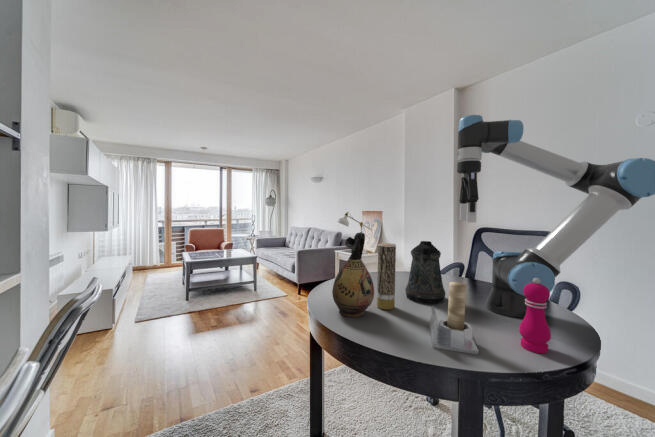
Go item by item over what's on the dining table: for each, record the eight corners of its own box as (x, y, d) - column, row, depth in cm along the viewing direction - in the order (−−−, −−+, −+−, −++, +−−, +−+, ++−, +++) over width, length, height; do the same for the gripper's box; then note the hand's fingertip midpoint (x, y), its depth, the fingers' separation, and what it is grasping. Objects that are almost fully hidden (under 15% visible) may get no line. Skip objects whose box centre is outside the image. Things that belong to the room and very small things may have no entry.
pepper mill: (512, 342, 83) (515, 274, 82) (535, 341, 83) (538, 274, 83) (532, 355, 75) (535, 281, 75) (557, 354, 76) (560, 281, 75)
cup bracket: (469, 335, 87) (470, 309, 87) (478, 354, 75) (479, 325, 75) (430, 330, 90) (430, 305, 90) (432, 347, 79) (433, 319, 78)
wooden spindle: (462, 336, 84) (464, 283, 84) (464, 342, 80) (467, 286, 79) (445, 333, 85) (448, 281, 85) (447, 339, 81) (450, 284, 81)
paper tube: (393, 304, 114) (394, 243, 113) (395, 310, 107) (397, 245, 106) (376, 304, 115) (377, 243, 114) (377, 310, 108) (378, 245, 107)
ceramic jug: (364, 324, 94) (366, 235, 93) (324, 315, 102) (325, 232, 101) (380, 308, 109) (382, 232, 108) (345, 302, 116) (346, 230, 115)
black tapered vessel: (433, 292, 132) (434, 239, 131) (457, 306, 113) (459, 244, 112) (399, 293, 130) (400, 239, 129) (418, 307, 111) (419, 244, 110)
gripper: (452, 166, 112) (451, 220, 113) (463, 155, 88) (461, 222, 89) (473, 166, 110) (471, 220, 111) (490, 154, 86) (488, 223, 87)
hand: (467, 221), depth 100 cm, fingers open, 13 cm apart
